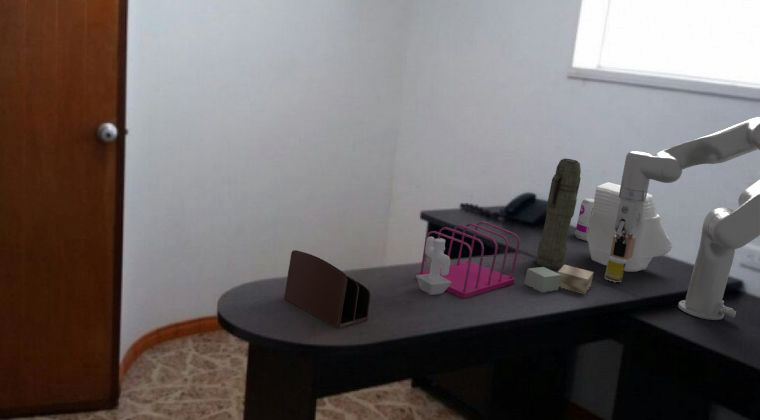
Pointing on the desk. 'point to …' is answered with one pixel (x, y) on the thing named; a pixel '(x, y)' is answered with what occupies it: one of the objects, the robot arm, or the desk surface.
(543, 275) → the sage block
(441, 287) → the figurine
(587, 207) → the supplement can
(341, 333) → the desk surface
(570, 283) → the maple block
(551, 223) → the thermos
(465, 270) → the file sorter
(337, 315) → the letter holder
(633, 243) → the terracotta block
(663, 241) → the white rounded piece
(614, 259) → the supplement bottle
